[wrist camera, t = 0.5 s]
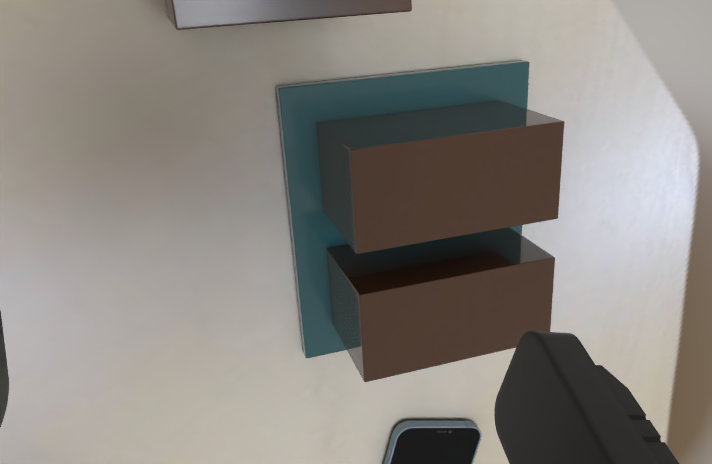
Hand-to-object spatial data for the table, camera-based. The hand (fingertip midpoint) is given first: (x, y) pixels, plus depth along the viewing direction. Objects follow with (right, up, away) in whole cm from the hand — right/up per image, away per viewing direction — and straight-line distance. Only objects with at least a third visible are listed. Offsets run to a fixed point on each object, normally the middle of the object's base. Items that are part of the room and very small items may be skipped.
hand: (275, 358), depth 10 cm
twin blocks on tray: (+5, +3, +32) cm, 33 cm away
